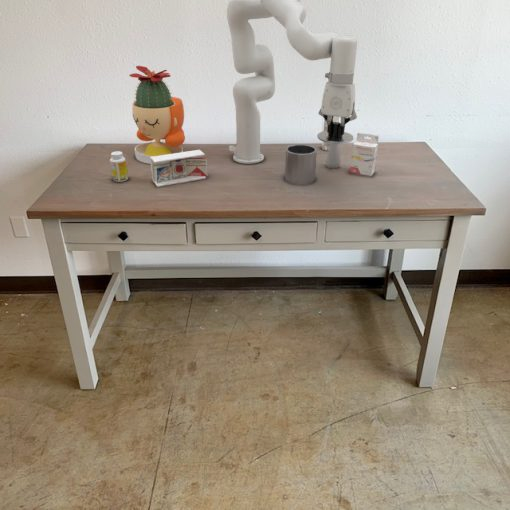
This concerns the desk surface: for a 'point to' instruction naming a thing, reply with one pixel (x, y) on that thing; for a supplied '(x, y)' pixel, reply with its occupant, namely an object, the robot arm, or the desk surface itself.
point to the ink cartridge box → (364, 154)
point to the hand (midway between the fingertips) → (335, 135)
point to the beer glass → (324, 128)
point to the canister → (300, 163)
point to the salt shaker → (333, 156)
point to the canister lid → (335, 135)
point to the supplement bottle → (118, 167)
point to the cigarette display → (178, 167)
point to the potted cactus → (157, 116)
